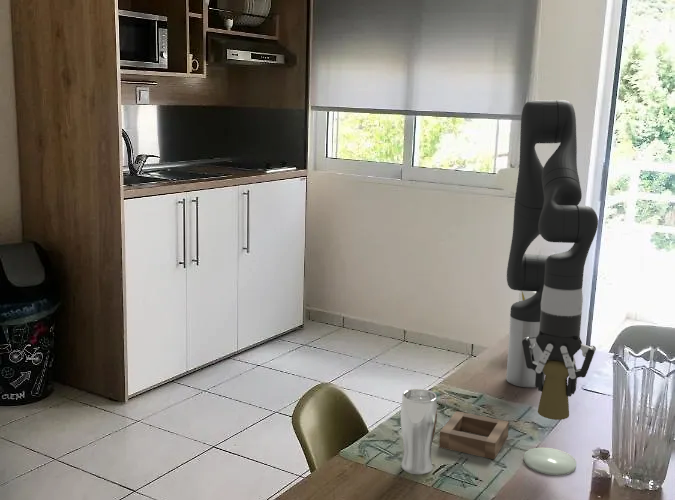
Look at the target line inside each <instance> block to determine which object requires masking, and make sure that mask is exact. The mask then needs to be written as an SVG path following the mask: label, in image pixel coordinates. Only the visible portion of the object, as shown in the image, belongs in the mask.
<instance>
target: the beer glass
mask: <svg viewBox="0 0 675 500" xmlns="http://www.w3.org/2000/svg"><path fill="white" fill-rule="evenodd" d="M437 401H438V400H437V394H436V393H435V392H433V391H430V390H428V389H424V388H413V389H412V388H411V389H408V390H405V391H404V392H403V393H402V399H401V408H400V427H401V435H402V442H403V454H402V459H401V462H400V464H401V465H400V466H401V468H402V470H403V471H405V472H407V474H412V475H426V474H428V473H430V472H431V471H432V470H433V460H432V446H433V443H434V438H435V433H436V427H437V420H438V404H437V403H438V402H437Z"/></svg>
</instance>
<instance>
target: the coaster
mask: <svg viewBox="0 0 675 500" xmlns="http://www.w3.org/2000/svg"><path fill="white" fill-rule="evenodd" d="M523 455H524V456H523V462H524V464H525V465H526V466H527V467H528V468H529V469H531V470H532V471H533V470H534V471H535V472H538V473H541V474H545V475H550V476H564V475H568V474H571V473H573V472H574V471H575V470H576V468H577V461H576V458H575V457H573V455H572V454H570V453H568V452H566V451H563V450H560V449H557V448H552V447H534V448H530V449H528V450H526V451H525V453H524V454H523Z"/></svg>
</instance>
